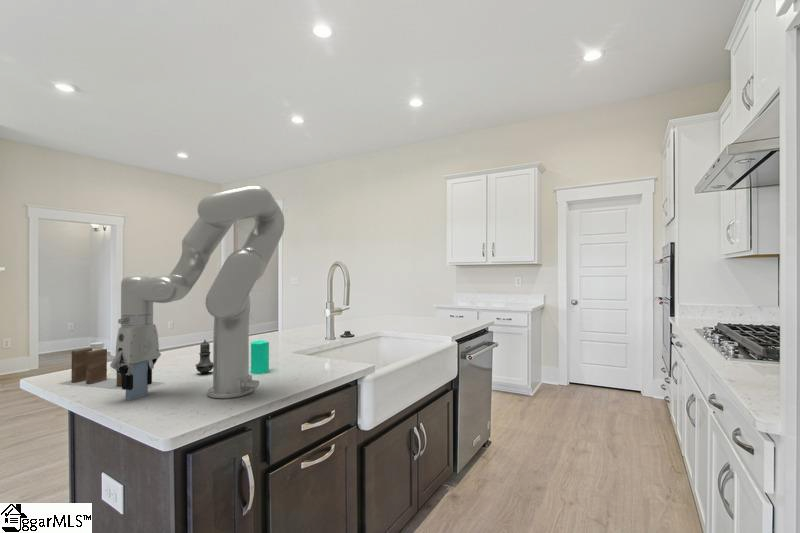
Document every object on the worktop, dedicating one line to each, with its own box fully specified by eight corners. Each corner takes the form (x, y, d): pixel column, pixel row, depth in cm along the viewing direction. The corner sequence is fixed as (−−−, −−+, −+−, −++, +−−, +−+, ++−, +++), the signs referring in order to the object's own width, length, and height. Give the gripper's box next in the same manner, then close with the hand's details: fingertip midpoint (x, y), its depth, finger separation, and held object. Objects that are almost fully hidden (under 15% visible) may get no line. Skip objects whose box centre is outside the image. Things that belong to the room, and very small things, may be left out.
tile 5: (92, 378, 130) (92, 348, 130) (75, 383, 125) (76, 351, 125) (88, 378, 131) (88, 347, 131) (71, 382, 126) (71, 350, 126)
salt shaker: (206, 377, 133) (206, 341, 133) (191, 376, 134) (191, 340, 134) (218, 373, 139) (218, 338, 139) (203, 372, 140) (203, 337, 140)
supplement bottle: (92, 374, 137) (93, 344, 137) (83, 373, 139) (83, 343, 139) (110, 371, 142) (110, 342, 142) (100, 369, 144) (100, 341, 144)
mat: (165, 383, 125) (165, 382, 125) (139, 392, 117) (139, 391, 117) (86, 377, 133) (86, 376, 133) (57, 384, 125) (57, 383, 125)
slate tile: (147, 395, 113) (147, 360, 114) (131, 401, 108) (131, 364, 109) (142, 395, 114) (142, 360, 114) (125, 400, 109) (126, 364, 109)
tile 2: (136, 382, 126) (136, 350, 126) (121, 387, 121) (121, 353, 121) (131, 382, 126) (132, 350, 126) (116, 386, 121) (116, 353, 121)
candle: (251, 370, 142) (251, 336, 142) (269, 369, 144) (269, 335, 144) (250, 374, 136) (250, 339, 136) (268, 373, 138) (268, 338, 138)
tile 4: (106, 379, 129) (106, 348, 129) (90, 384, 124) (90, 351, 124) (102, 379, 129) (102, 348, 129) (86, 383, 124) (86, 351, 124)
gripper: (119, 325, 102) (118, 396, 102) (172, 317, 119) (172, 379, 118) (96, 324, 104) (96, 394, 104) (152, 317, 121) (152, 377, 120)
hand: (136, 385), depth 111 cm, fingers closed on slate tile, 5 cm apart
